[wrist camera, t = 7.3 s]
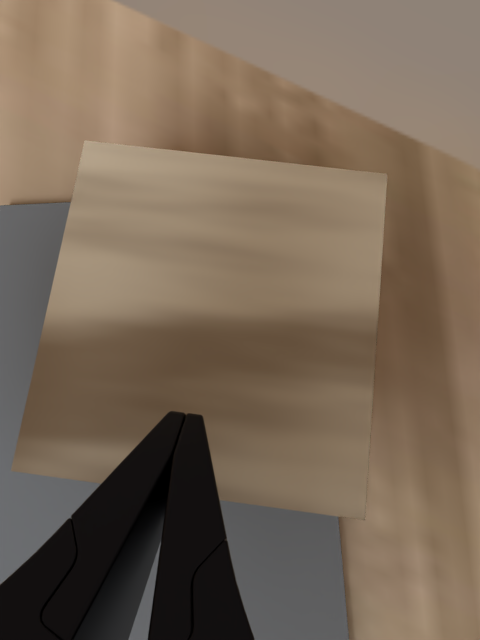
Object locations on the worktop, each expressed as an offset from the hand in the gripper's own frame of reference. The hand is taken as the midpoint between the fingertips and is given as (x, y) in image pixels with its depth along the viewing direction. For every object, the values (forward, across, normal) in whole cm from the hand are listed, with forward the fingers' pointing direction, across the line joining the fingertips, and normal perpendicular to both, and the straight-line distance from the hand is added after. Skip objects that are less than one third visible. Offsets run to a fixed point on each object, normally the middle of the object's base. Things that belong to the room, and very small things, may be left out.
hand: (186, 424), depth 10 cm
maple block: (+1, 0, +4) cm, 4 cm away
